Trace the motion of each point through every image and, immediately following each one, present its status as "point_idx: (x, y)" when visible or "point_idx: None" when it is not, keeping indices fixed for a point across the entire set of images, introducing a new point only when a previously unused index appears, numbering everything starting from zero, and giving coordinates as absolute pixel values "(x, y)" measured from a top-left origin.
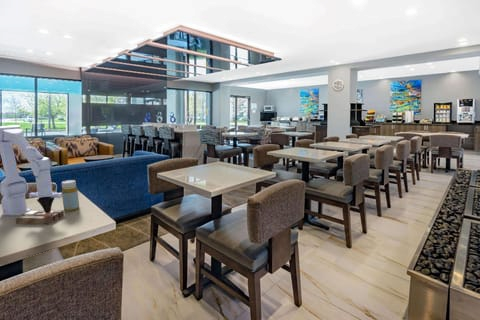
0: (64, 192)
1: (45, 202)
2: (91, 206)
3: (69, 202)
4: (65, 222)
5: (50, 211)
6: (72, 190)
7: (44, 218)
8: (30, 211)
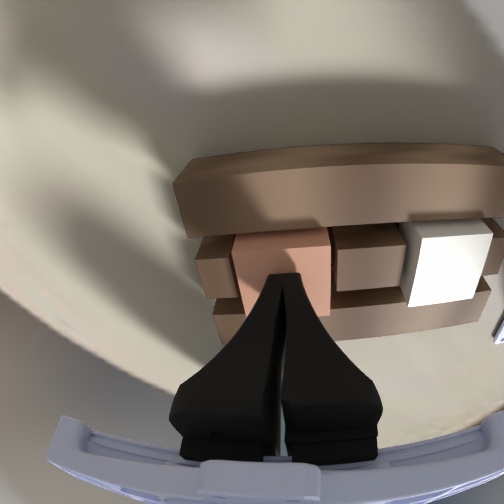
0: None
1: (226, 371)
2: None
3: None
4: (115, 220)
5: None
6: None
7: (222, 175)
8: (468, 282)
